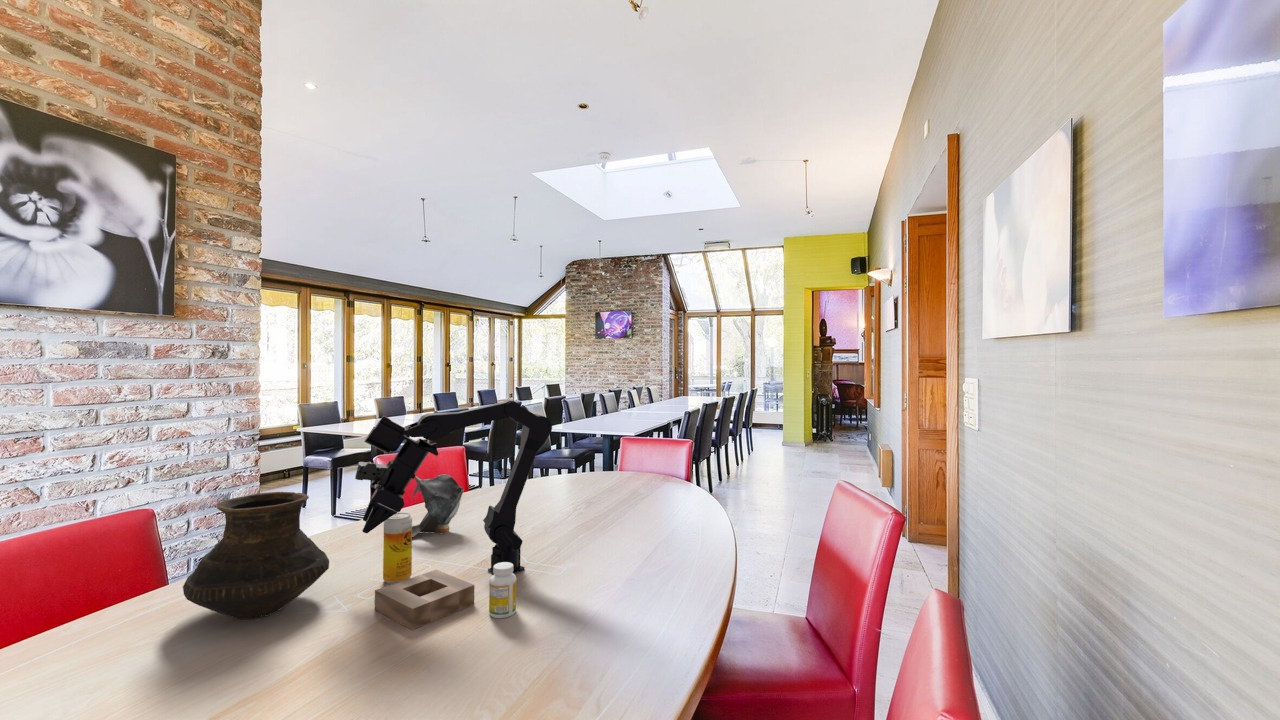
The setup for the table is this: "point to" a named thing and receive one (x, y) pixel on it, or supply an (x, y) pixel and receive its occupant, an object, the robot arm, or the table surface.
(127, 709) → the table surface
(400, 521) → the beer can
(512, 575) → the supplement bottle
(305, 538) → the ceramic pot
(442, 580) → the socket block
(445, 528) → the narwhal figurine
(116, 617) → the table surface
